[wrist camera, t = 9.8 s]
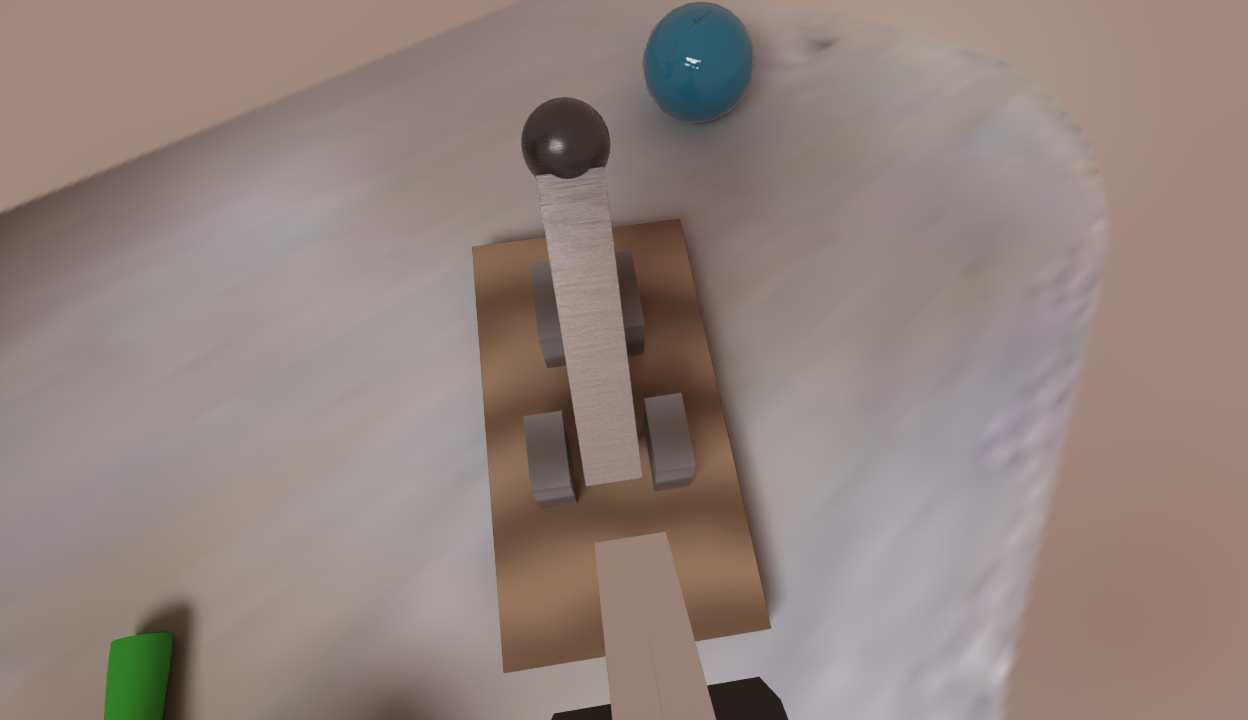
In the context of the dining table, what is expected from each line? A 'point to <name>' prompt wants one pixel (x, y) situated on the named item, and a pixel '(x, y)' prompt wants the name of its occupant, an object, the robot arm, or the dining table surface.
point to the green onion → (138, 677)
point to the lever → (585, 281)
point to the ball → (698, 62)
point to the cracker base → (552, 466)
